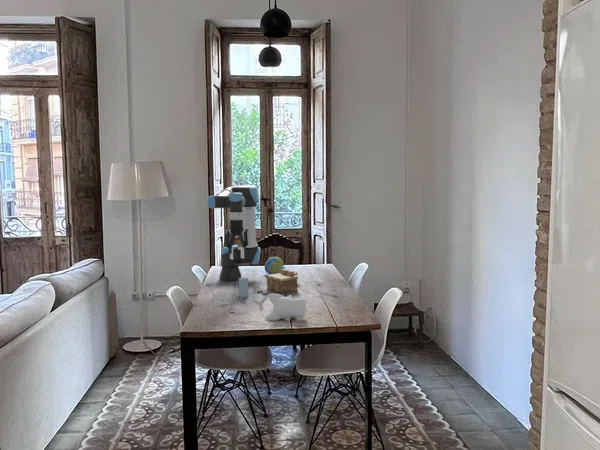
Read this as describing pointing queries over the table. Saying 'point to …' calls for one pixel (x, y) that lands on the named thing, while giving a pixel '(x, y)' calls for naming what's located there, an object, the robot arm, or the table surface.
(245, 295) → the blue-grey block
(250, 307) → the table surface
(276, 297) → the fox head
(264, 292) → the pair of grey bars
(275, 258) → the globe
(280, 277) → the lid
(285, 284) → the toolbox
